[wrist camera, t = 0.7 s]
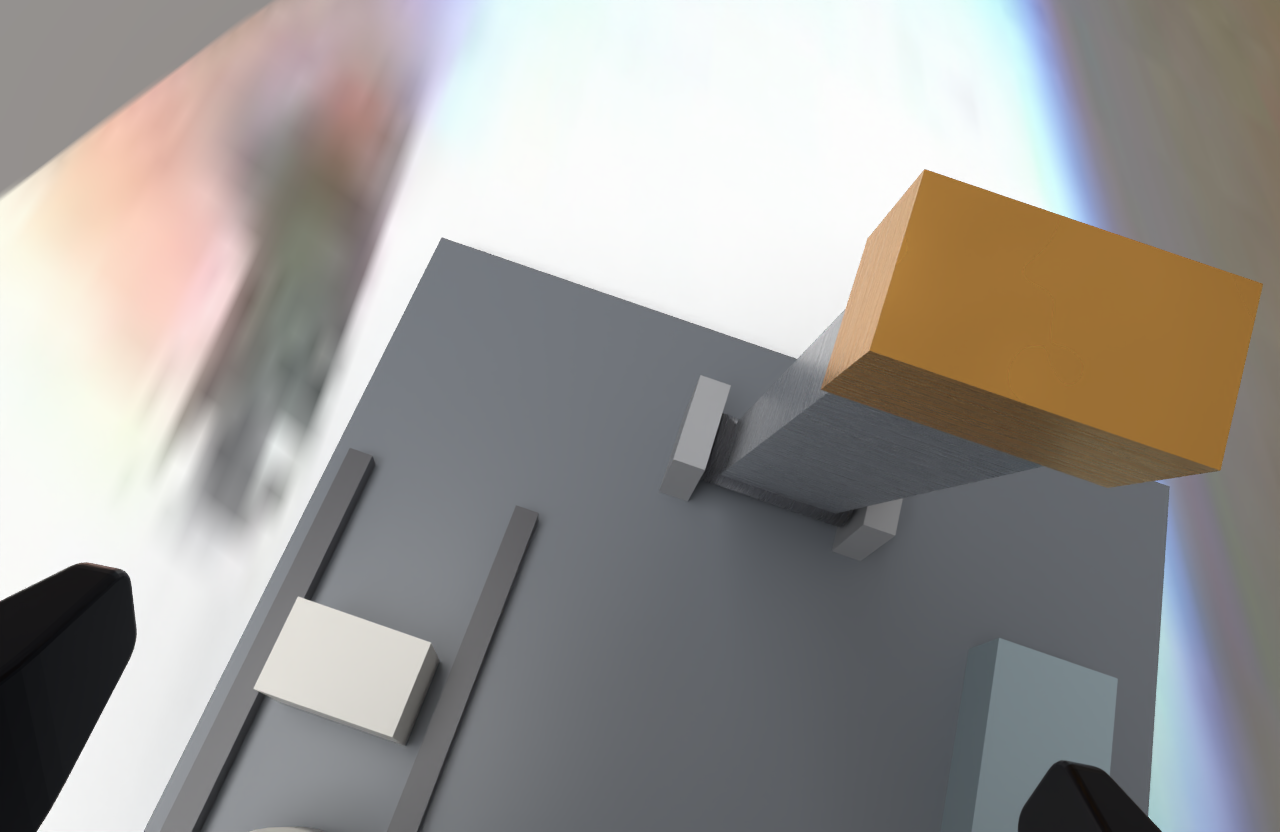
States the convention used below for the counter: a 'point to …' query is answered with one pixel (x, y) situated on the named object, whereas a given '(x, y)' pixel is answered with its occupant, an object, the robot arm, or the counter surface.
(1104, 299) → the lever
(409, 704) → the slider
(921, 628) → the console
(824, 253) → the counter surface
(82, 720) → the robot arm
